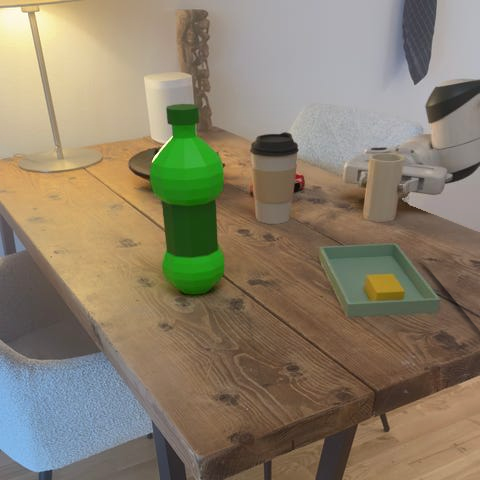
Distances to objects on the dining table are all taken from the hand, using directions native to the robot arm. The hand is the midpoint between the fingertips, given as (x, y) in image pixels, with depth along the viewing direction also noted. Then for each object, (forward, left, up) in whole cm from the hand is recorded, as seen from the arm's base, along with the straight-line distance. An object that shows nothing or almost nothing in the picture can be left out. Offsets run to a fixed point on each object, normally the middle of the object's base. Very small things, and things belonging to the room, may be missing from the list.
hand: (381, 186), depth 108 cm
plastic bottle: (+36, +27, -6) cm, 46 cm away
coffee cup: (+20, -3, -6) cm, 22 cm away
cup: (-1, -1, -6) cm, 6 cm away
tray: (+9, +30, -6) cm, 32 cm away
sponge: (+9, +36, -5) cm, 37 cm away
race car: (+17, -20, -6) cm, 27 cm away
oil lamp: (+39, -29, -6) cm, 49 cm away
